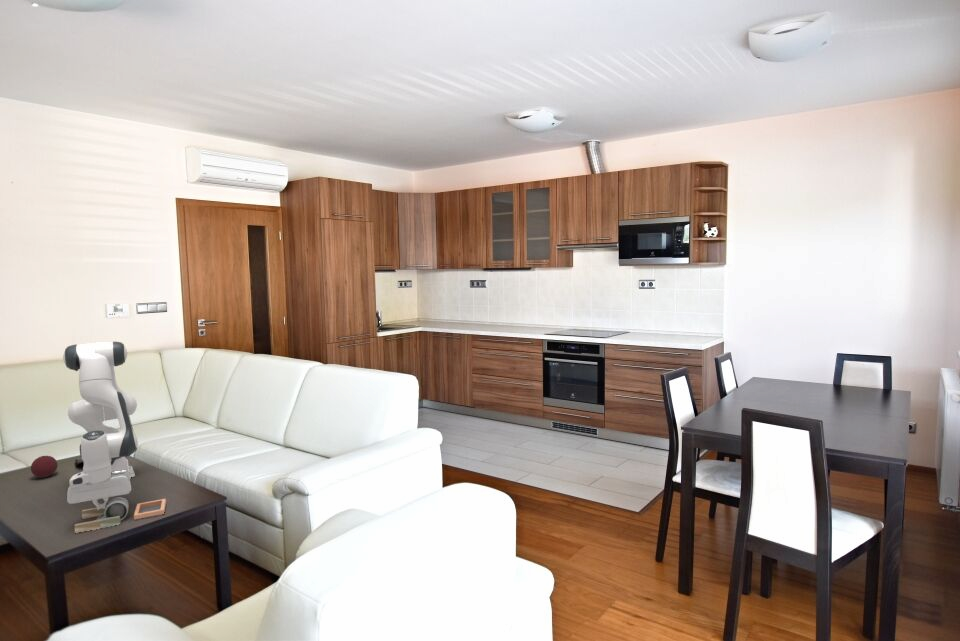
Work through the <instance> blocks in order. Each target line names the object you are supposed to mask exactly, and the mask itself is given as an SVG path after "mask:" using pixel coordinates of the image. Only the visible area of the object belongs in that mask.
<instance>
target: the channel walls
mask: <svg viewBox="0 0 960 641" xmlns="http://www.w3.org/2000/svg"><path fill="white" fill-rule="evenodd" d="M106 507H107V505H106ZM104 512H105V509H103V510H97V507H93V508H92V507H91V508H87V509H82V510H81V515H82V516H81V519H83V520H85V519H90V517H91V518H94V517H95V518H97V517H99V516H100V515H101V514H103V513H104ZM120 523H121V521H120V516H116V517H110V518H105V519H100V520H91V521H90V520H89V521H85V522H84V521H83V522H80V523H75V524H74V534H75V533H76V534H80V533H79V532H82V533H85V532H84V531H87V532H91V531H90V530H92V531H96V529H97V530H101V529H100V528H102V529H106V527H107V528H111V526H112V527H116V526H115V525H117V526H120V525H121V524H120ZM119 524H120V525H119Z"/></svg>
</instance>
